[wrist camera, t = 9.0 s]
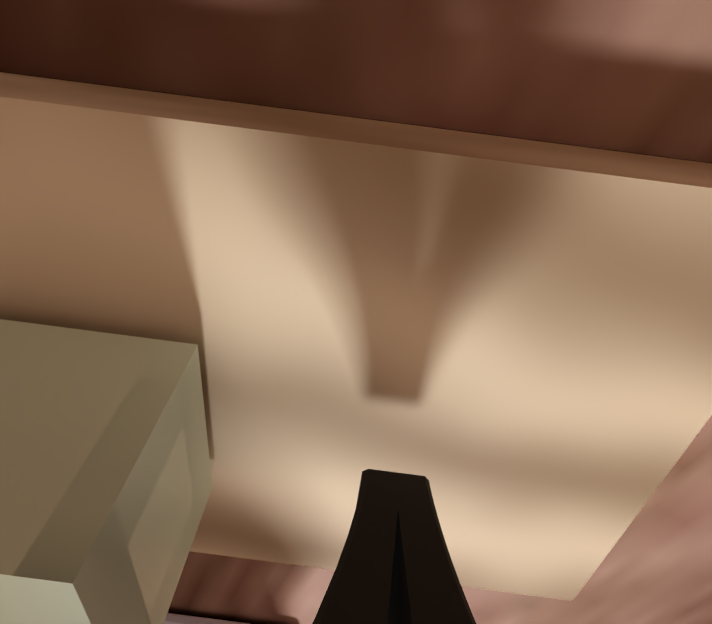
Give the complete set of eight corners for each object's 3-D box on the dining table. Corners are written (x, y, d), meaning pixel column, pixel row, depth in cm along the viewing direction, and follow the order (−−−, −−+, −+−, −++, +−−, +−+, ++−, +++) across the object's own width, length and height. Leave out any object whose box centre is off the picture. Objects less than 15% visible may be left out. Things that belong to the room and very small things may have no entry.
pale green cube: (212, 486, 14) (129, 719, 10) (-8, 458, 14) (-186, 678, 10) (197, 344, 11) (68, 591, 7) (-83, 308, 11) (-387, 532, 7)
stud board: (560, 557, 18) (626, 809, 13) (-56, 477, 18) (-247, 696, 13) (808, 175, 10) (1292, 443, 4) (-326, 30, 10) (-1184, 123, 4)
